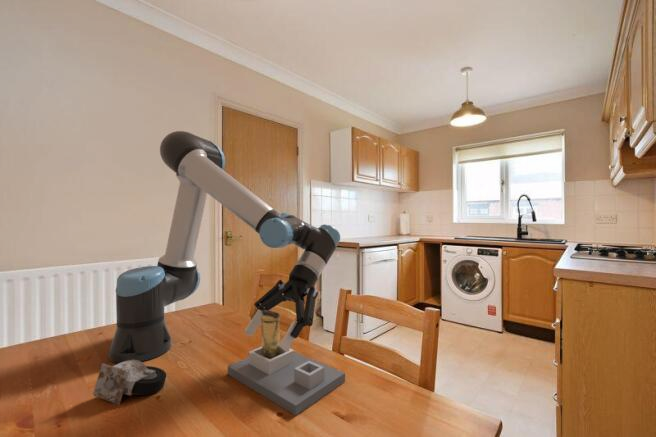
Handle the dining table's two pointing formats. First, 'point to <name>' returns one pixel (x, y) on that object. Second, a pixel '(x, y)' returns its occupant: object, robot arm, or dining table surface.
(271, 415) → the dining table surface
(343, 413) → the dining table surface
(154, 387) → the caster wheel
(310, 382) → the board
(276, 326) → the amber translucent cylinder
